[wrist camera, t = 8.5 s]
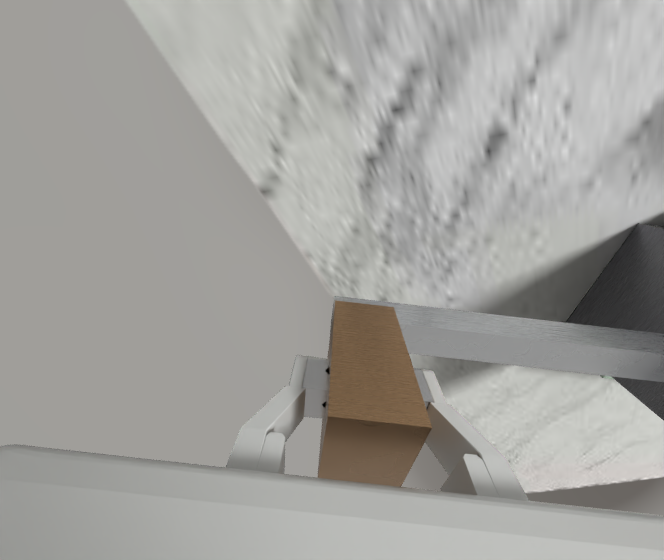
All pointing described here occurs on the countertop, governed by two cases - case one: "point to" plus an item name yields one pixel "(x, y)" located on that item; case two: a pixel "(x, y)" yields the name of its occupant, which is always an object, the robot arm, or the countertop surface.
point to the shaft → (450, 342)
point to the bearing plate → (631, 300)
